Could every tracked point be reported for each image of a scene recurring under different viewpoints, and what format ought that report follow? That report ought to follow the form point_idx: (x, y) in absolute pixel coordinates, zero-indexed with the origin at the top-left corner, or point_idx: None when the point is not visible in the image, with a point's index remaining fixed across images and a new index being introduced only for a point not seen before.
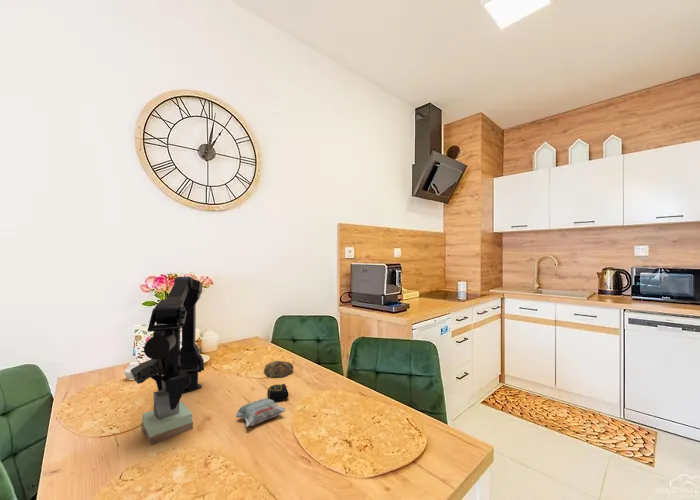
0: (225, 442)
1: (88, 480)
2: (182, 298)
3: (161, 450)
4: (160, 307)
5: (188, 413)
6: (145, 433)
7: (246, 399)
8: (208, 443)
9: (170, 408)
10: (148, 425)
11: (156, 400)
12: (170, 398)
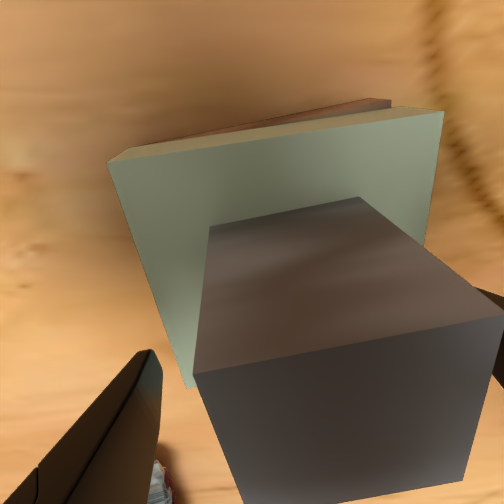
0: (9, 404)
1: None
2: None
3: (44, 193)
4: None
5: None
6: (271, 120)
7: None
8: (26, 361)
9: (141, 356)
10: (179, 150)
11: (318, 290)
12: (17, 494)
